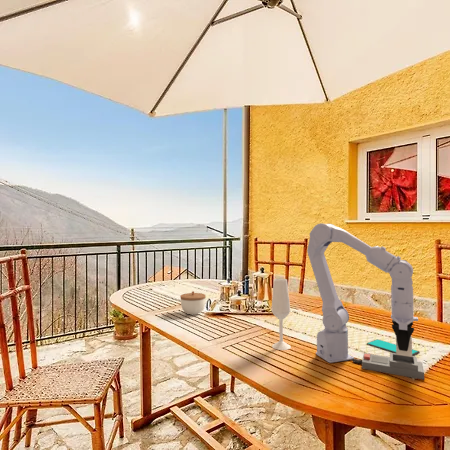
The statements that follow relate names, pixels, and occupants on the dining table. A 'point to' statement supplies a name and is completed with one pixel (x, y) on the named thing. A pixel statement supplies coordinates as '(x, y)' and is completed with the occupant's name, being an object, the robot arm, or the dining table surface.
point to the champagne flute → (280, 308)
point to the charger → (404, 353)
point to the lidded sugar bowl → (193, 302)
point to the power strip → (393, 365)
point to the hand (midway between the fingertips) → (403, 347)
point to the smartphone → (387, 346)
